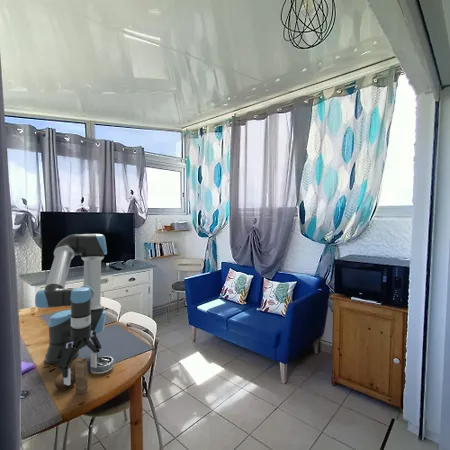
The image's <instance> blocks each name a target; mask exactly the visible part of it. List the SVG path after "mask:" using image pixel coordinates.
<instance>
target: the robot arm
mask: <svg viewBox="0 0 450 450" xmlns="http://www.w3.org/2000/svg"><path fill="white" fill-rule="evenodd" d="M107 250H108V249H107V241H106V237H105V235H104V234H101V233H81V234H80V233H74V234H70V235H67V236H66V237H64V238H62V239H61V240H60V241H59V242H58V243H57V245H56V246H55V247H54V250H53V260H52V264H51V268H50V270H49V274H48V277H47V280H46V283H45V287H44V289H41V290H38V291H37V292H36V293H35V298H34V299H35V300H34V304H35V307H36V308H38V309H49V308H57V307H59V308H60V307H70V309H67V310H62V311H58V312H55V313H54V314H52V315H51V316H50V317H49V320H48V346H47V347H48V348H47V351H46V353H45V356H44V357H45V358H44V361H45V363H47V364H48V365H57V370H58V371H61V374H62V377H63V378H64V384H65V385H70V384H71V371H72V370H71V368H70V366H71V364H72V363H73V361H74V360H76V359H77V357H78V356H79V353H80V352H79V351H80V350H81V349H82V348H85V347H87V348H88V349H89V350H90V351H91V352H90V363H91V367H94V368H96V367H97V358H98V356H99V355H98V353H100V351H101V350H100V349H102V345H101V343H100V340H99V339H98V337H97V334H101V333H103V331H104V328H105V323H106V316H107V310H104V306H103V305H102V304H101V296H102V295H101V294H102V293H101V291H102V289H101V287H102V286H101V285H102V278H101V277H102V260H104V258H105V255H107V254H108V251H107ZM75 256H80V258H81V260H82V261H83V285H82V286H80V287H75V288H73V287H71V288H70V287H69V288H65V287H66V282H67V278H68V274H69V270H70V266H71V262H72V260H73V258H74V257H75Z"/></svg>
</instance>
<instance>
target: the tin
mask: <svg viewBox="0 0 450 450" xmlns="http://www.w3.org/2000/svg"><path fill="white" fill-rule="evenodd" d="M114 360H115V359H114V358H113V357H112V356H110V355H102V356H99V357H97V367H96V368H94V367H91V362H90V364H89V367H90V369H89V370H90V372H91V374H93V375H103V374H107V373H109V372H111V371H112V369H113V368H114Z"/></svg>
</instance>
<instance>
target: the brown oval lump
mask: <svg viewBox="0 0 450 450" xmlns="http://www.w3.org/2000/svg"><path fill="white" fill-rule="evenodd" d="M74 385H75V372H74V371H72V370H71V384H70V385H65V384H64V378H63V377H62V373H60V374H59V375H58V376H57V377H55V379H54V387H55V388H56V389H57V390H58V391H66V390H69V389H70V388H72V387H73V386H74Z"/></svg>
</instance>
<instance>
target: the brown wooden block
mask: <svg viewBox="0 0 450 450" xmlns="http://www.w3.org/2000/svg"><path fill="white" fill-rule="evenodd" d="M74 360H75V361H74V363H75V364H74V367H75V368H74V369H75V370H74V374H75V384H74V385H75V392H74V393H76V394H79V395H84V394H86V393H87V392H88V359H87V358H84V357H78V358H75V359H74Z"/></svg>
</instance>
